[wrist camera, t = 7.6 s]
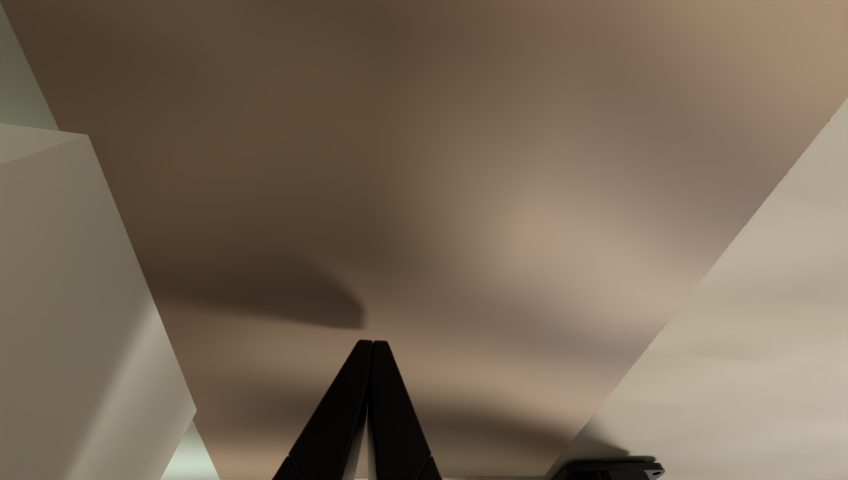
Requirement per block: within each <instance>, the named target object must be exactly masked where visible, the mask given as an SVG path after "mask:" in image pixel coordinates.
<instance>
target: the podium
mask: <svg viewBox="0 0 848 480" xmlns="http://www.w3.org/2000/svg"><path fill="white" fill-rule="evenodd" d="M847 98H848V0H0V123H3V124H10V125H18V126H25V127H33V128H41V129H48V130H56V131H63V132H71V133H78V134H86V135H88V136H89V139H90V141H91V144H92V146H93V149H94V151H95V154H96V156H97V159H98V161H99V164H100V166H101V169H102V171H103V174H104V177H105V179H106V182H107V184H108V187H109V189H110V192H111V194H112V197H113V199H114V202H115V204H116V207H117V209H118V212H119V214H120V217H121V219H122V222H123V224H124V227H125V230H126V232H127V235H128V237H129V240H130V242H131V245H132V247H133V250H134V252H135V255H136V257H137V260H138V262H139V265H140V267H141V270H142V272H143V275H144V278H145V280H146V283H147V285H148V288H149V290H150V293H151V295H152V298H153V300H154V303H155V305H156V308H157V310H158V313H159V315H160V318H161V320H162V323H163V326H164V328H165V331H166V333H167V336H168V338H169V341H170V343H171V346H172V348H173V351H174V353H175V356H176V358H177V361H178V363H179V366H180V368H181V371H182V373H183V376H184V379H185V381H186V384H187V386H188V389H189V391H190V394H191V396H192V399H193V401H194V404H195V406H196V409H197V411H196V413H195V415H194V417H193V419H192V421H191V423H190V425H189V426H188V428H187V430H186V432H185V434H184V436H183V438H182V440H181V442H180V443H179V445H178V447H177V449H176V451H175V453H174V455H173V457H172V458H171V460H170V462H169V464H168V466H167V468H166V470H165V472H164V474H163V475H162V477H161V479H160V480H262V479H272V478H273V477H274V475H275V474H276V472H277V470H278V469H279V467H280V466H281V464H282V462H283V461H284V459H285V458H286V457H287V456H289V455H288V453H289V451H290V450H291V448H292V446H293V445H294V443H295V442H296V440H297V438H298V437H299V435H300V434H301V432H302V430H303V429H304V427H305V425H306V424H307V422H308V421H309V419H310V417H311V416H312V414H313V412H314V411H315V409H316V408H317V406H318V404H319V403H320V401H321V400H322V398H323V396H324V395H325V393H326V391H327V390H328V388H329V387H330V385H331V383H332V382H333V380H334V379H335V377H336V375H337V374H338V372H339V370H340V369H341V367H342V366H343V364H344V362H345V361H346V359H347V357H348V356H349V354H350V353H351V351H352V349H353V348H354V346H355V345H356V343H357V341H358V340H360V339H365V340H372V341H373V342H374V341H375V340H386V341H388V343H389V345H390V348H391V350H392V353H393V355H394V358H395V361H396V363H397V366H398V368H399V371H400V373H401V376H402V378H403V381H404V384H405V386H406V389H407V391H408V394H409V396H410V399H411V402H412V404H413V407H414V409H415V412H416V414H417V417H418V419H419V422H420V425H421V427H422V430H423V432H424V435H425V437H426V440H427V443H428V445H429V448H430V450H431V453H432V455H431V456H433V458H434V460H435V463H436V465H437V468H438V470H439V473H440V475H441V477H518V476H545V474H546V473H547V472H548V471H549V469H550V468H551V467H552V466H553V464H554V463H555V462H556V461H557V459H558V458H559V457H560V456H561V454H562V453H563V452H564V451H565V449H566V448H567V447H568V446H569V444H570V443H571V442H572V441H573V439H574V438H575V437H576V436H577V434H578V433H579V432H580V431H581V429H582V428H583V427H584V426H585V424H586V423H587V422H588V421H589V419H590V418H591V417H592V416H593V414H594V413H595V412H596V411H597V409H598V408H599V407H600V406H601V404H602V403H603V402H604V401H605V399H606V398H607V397H608V396H609V394H610V393H611V392H612V391H613V389H614V388H615V387H616V386H617V384H618V383H619V382H620V381H621V380H622V378H623V377H624V376H625V375H626V373H627V372H628V371H629V370H630V368H631V367H632V366H633V365H634V363H635V362H636V361H637V360H638V358H639V357H640V356H641V355H642V353H643V352H644V351H645V350H646V348H647V347H648V346H649V345H650V343H651V342H652V341H653V340H654V338H655V337H656V336H657V335H658V333H659V332H660V331H661V330H662V328H663V327H664V326H665V325H666V323H667V322H668V321H669V320H670V318H671V317H672V316H673V315H674V313H675V312H676V311H677V310H678V308H679V307H680V306H681V305H682V303H683V302H684V301H685V300H686V298H687V297H688V296H689V295H690V293H691V292H692V291H693V290H694V288H695V287H696V286H697V285H698V283H699V282H700V281H701V280H702V279H703V277H704V276H705V275H706V274H707V272H708V271H709V270H710V269H711V267H712V266H713V265H714V264H715V262H716V261H717V260H718V259H719V257H720V256H721V255H722V254H723V252H724V251H725V250H726V249H727V247H728V246H729V245H730V244H731V242H732V241H733V240H734V239H735V237H736V236H737V235H738V234H739V232H740V231H741V230H742V229H743V227H744V226H745V225H746V224H747V222H748V221H749V220H750V219H751V217H752V216H753V215H754V214H755V212H756V211H757V210H758V209H759V207H760V206H761V205H762V204H763V202H764V201H765V200H766V199H767V197H768V196H769V195H770V194H771V192H772V191H773V190H774V189H775V187H776V186H777V185H778V184H779V182H780V181H781V180H782V179H783V178H784V176H785V175H786V174H787V173H788V171H789V170H790V169H791V168H792V166H793V165H794V164H795V163H796V161H797V160H798V159H799V158H800V156H801V155H802V154H803V153H804V151H805V150H806V149H807V148H808V146H809V145H810V144H811V143H812V141H813V140H814V139H815V138H816V136H817V135H818V134H819V133H820V131H821V130H822V129H823V128H824V126H825V125H826V124H827V123H828V121H829V120H830V119H831V118H832V116H833V115H834V114H835V113H836V111H837V110H838V109H839V108H840V106H841V105H842V104H843V103H844V101H845V100H846V99H847ZM367 411H368V408H367ZM355 478H368V449H367V417H366V424H365V429H364V434H363V439H362V444H361V449H360V454H359V459H358V463H357V468H356V473H355Z"/></svg>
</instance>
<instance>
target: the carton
mask: <svg viewBox="0 0 848 480" xmlns="http://www.w3.org/2000/svg"><path fill="white" fill-rule="evenodd" d="M196 411H197V409H196V406H195V404H194V401H193V399H192V396H191V394H190V391H189V389H188V386H187V384H186V381H185V379H184V376H183V373H182V371H181V368H180V366H179V363H178V361H177V358H176V356H175V353H174V351H173V348H172V346H171V343H170V341H169V338H168V336H167V333H166V331H165V328H164V326H163V323H162V320H161V318H160V315H159V313H158V310H157V308H156V305H155V303H154V300H153V298H152V295H151V293H150V290H149V288H148V285H147V283H146V280H145V278H144V275H143V272H142V270H141V267H140V265H139V262H138V260H137V257H136V255H135V252H134V250H133V247H132V245H131V242H130V240H129V237H128V235H127V232H126V230H125V227H124V224H123V222H122V219H121V217H120V214H119V212H118V209H117V207H116V204H115V202H114V199H113V197H112V194H111V192H110V189H109V187H108V184H107V182H106V179H105V177H104V174H103V171H102V169H101V166H100V164H99V161H98V159H97V156H96V154H95V151H94V149H93V146H92V144H91V141H90V139H89V136H88V135H86V134H78V133H71V132H63V131H56V130H48V129H41V128H33V127H25V126H18V125H10V124H3V123H0V480H160V479H161V477H162V475H163V474H164V472H165V470H166V468H167V466H168V464H169V462H170V460H171V458H172V457H173V455H174V453H175V451H176V449H177V447H178V445H179V443H180V442H181V440H182V438H183V436H184V434H185V432H186V430H187V428H188V426H189V425H190V423H191V421H192V419H193V417H194V415H195V413H196Z"/></svg>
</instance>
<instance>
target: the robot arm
mask: <svg viewBox="0 0 848 480" xmlns="http://www.w3.org/2000/svg"><path fill="white" fill-rule="evenodd" d="M367 408H368V411H367ZM366 417H367V449H368V480H442V477H441V475H440V473H439V470H438V468H437V465H436V463H435V460H434V458H433V456H431V455H432V453H431V450H430V448H429V445H428V443H427V440H426V437H425V435H424V432H423V430H422V427H421V425H420V422H419V419H418V417H417V414H416V412H415V409H414V407H413V404H412V402H411V399H410V396H409V394H408V391H407V389H406V386H405V384H404V381H403V378H402V376H401V373H400V371H399V368H398V366H397V363H396V361H395V358H394V355H393V353H392V350H391V348H390V345H389V343H388V341H386V340H375V341H374V342H373V341H372V340H365V339H360V340H358V341H357V343H356V345H355V346H354V348H353V349H352V351H351V353H350V354H349V356H348V357H347V359H346V361H345V362H344V364H343V366H342V367H341V369H340V370H339V372H338V374H337V375H336V377H335V379H334V380H333V382H332V383H331V385H330V387H329V388H328V390H327V391H326V393H325V395H324V396H323V398H322V400H321V401H320V403H319V404H318V406H317V408H316V409H315V411H314V412H313V414H312V416H311V417H310V419H309V421H308V422H307V424H306V425H305V427H304V429H303V430H302V432H301V434H300V435H299V437H298V438H297V440H296V442H295V443H294V445H293V446H292V448H291V450H290V451H289V453H288V455H289V456H287V457H286V458H285V459H284V461H283V462H282V464H281V466H280V467H279V469H278V470H277V472H276V474H275V475H274V477H273V478H272V480H354V478H355V473H356V468H357V463H358V459H359V454H360V449H361V444H362V439H363V434H364V429H365V424H366ZM664 473H665V470H664V469H663V467H662V465H661V464H660V463H573V464H569V465H567V466H566V467H565V468H564V469H563V470H562V471H561V472H560V474H559V475H558V476H557V477H556V478H555V479H554V480H656V479H657V478H659V477H660V476H661V475H662V474H664Z"/></svg>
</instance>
